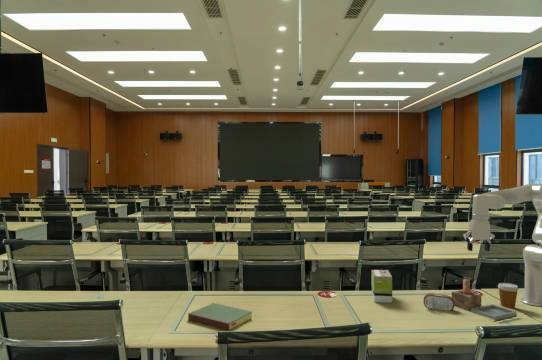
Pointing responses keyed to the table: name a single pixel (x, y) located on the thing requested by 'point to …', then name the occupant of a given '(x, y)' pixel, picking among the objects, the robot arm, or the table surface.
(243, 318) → the hardcover book
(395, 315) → the table surface
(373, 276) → the tea box
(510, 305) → the disposable coffee cup
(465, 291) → the dowel
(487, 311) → the tray
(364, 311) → the table surface
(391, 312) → the table surface
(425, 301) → the tin
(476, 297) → the socket block
